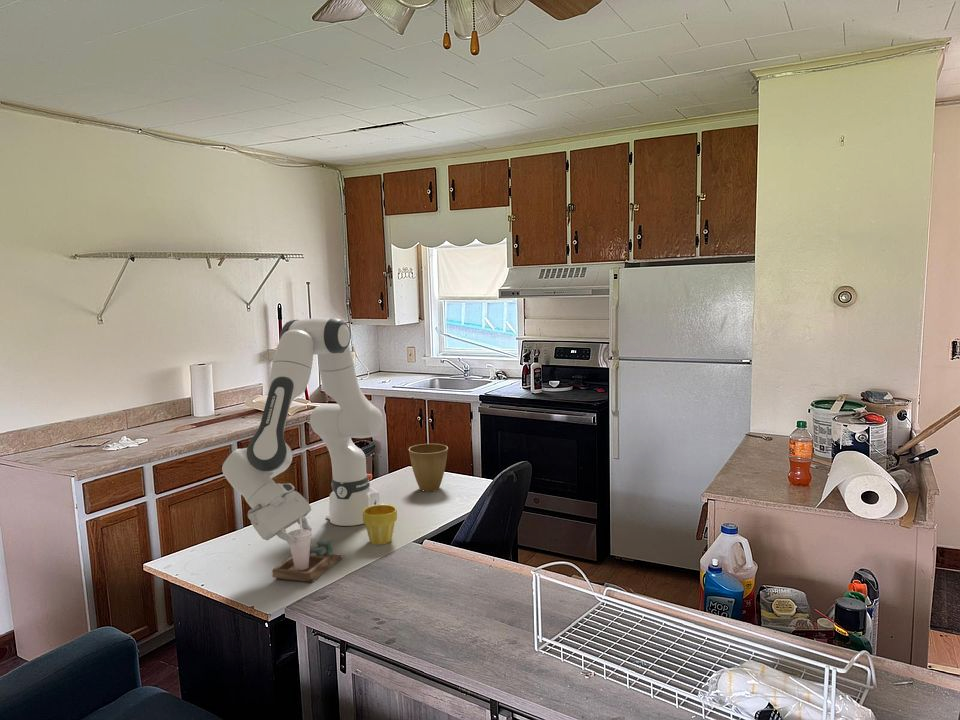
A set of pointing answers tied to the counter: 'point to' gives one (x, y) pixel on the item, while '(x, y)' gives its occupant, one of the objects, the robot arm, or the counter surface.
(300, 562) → the smoothie
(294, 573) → the brown wooden tray
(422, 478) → the plant pot
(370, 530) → the plant pot
